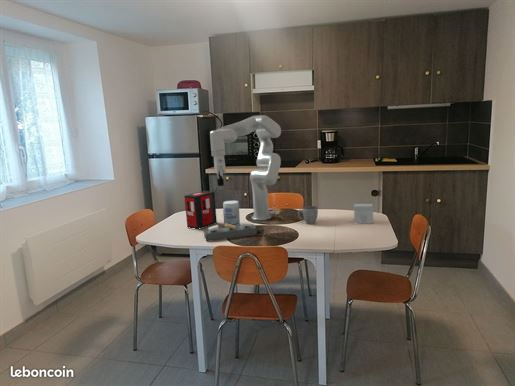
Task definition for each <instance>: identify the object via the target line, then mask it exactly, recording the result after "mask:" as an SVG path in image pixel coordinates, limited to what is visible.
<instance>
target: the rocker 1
mask: <svg viewBox="0 0 515 386" xmlns="http://www.w3.org/2000/svg"><path fill="white" fill-rule="evenodd" d="M219 228H220V227H219V225H218V224H216V225H215V224H214V225H213V226H212V225H211V226H210V227H209V226H208V227H207V230H209V231H213V230H216V229H219Z"/></svg>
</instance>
